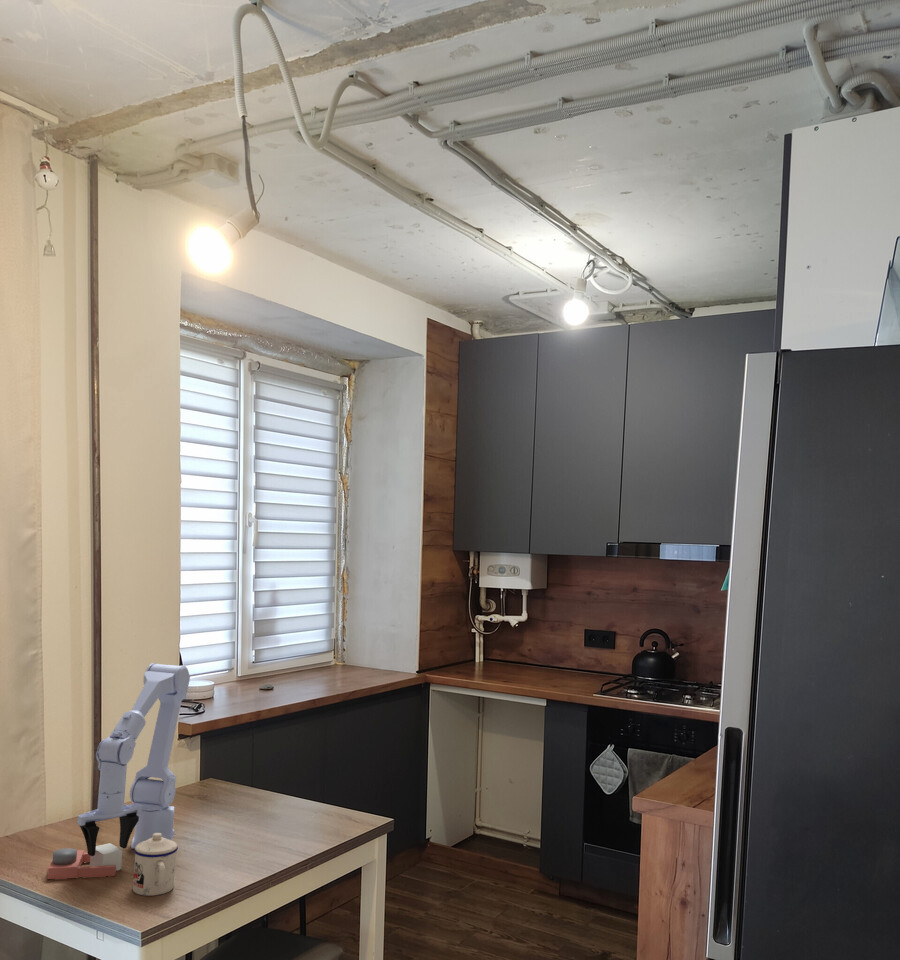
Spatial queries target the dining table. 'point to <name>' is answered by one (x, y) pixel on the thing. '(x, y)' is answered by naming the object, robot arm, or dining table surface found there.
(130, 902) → the dining table surface
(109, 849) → the white rectangular block
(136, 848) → the teacup with lid
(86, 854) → the pink u-shaped block
